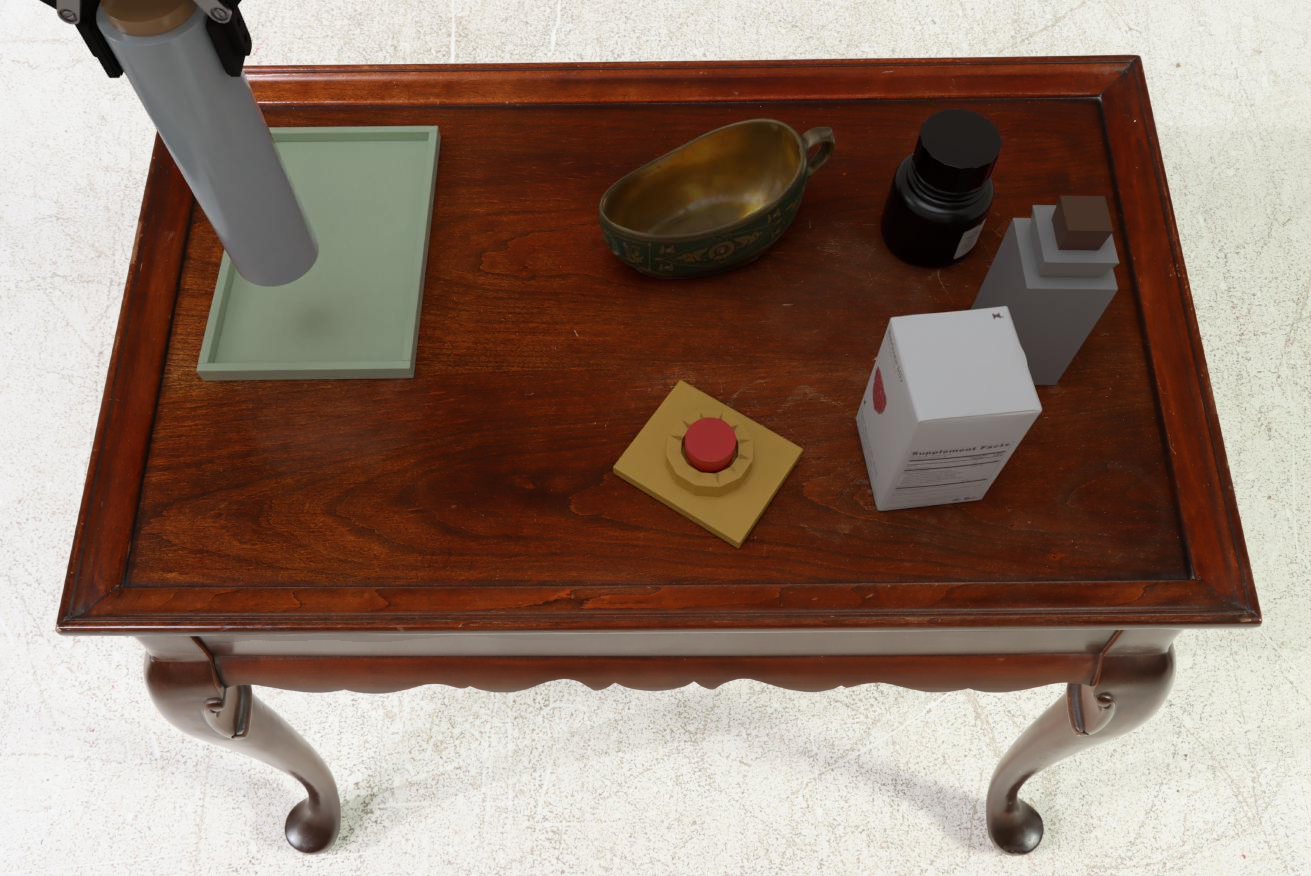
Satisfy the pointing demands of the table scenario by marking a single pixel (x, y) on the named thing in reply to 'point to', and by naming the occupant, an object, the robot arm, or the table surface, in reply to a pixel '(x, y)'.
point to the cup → (712, 199)
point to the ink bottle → (942, 189)
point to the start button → (710, 444)
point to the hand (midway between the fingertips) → (179, 60)
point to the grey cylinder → (213, 135)
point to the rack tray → (337, 264)
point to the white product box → (944, 407)
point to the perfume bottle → (1054, 280)
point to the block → (703, 496)
